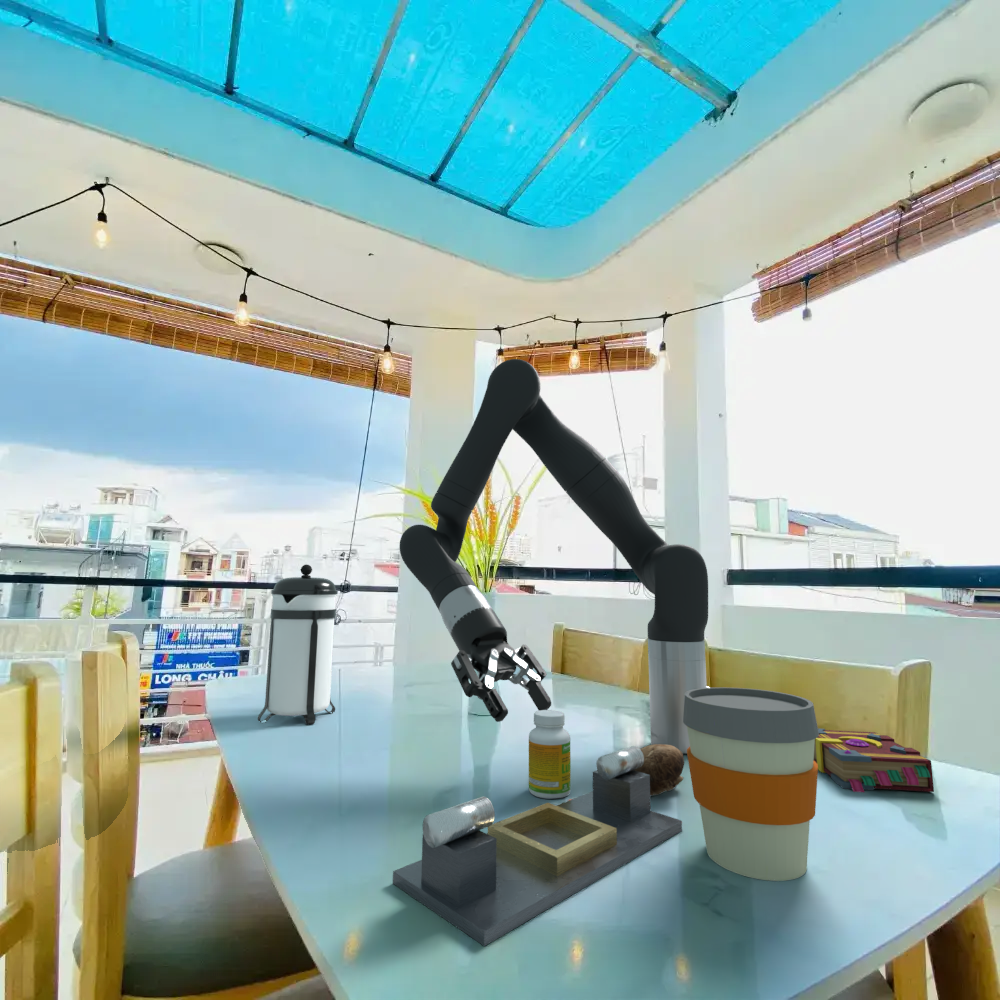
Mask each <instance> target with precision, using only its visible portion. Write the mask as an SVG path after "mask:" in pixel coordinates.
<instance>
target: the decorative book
mask: <svg viewBox="0 0 1000 1000" xmlns="http://www.w3.org/2000/svg"><path fill="white" fill-rule="evenodd" d="M818 732H819V736H818V737H817V738H816V739H815V744H814V761H815V762H816V763H817V764H818V772H820V773H823V774H824V773H825V774H827V775H828V776H830V780H832V781H833V782H835V783H836V784H837V785H839V787H841V788H842V789H848V790H850V789H851V790H852V792H854V793H865V790H867V791H874V790H875V789H879V790H892V791H893V790H895V791H896V790H897V791H909V792H910V791H911V792H912V791H913V792H914V791H915V792H927V793H930V792H931V793H935V789H934V787H935V786H934V780H933V779H934V778H933V768H932V767H933V766H932V760H930V759H929V758H927V757H924V756H922V755H921V751H919V750H917V749H915V748H913V747H905V746H903V745H901V744H899V743H897V742H895V739H894V738H893V737H891V736H889V735H887V734H886V735H881V734H879V733H877V732H875V731H872V732H871V731H853V730H851V731H850V730H830V729H829V730H828V729H825V728H818Z"/></svg>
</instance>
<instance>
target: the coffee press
mask: <svg viewBox="0 0 1000 1000" xmlns="http://www.w3.org/2000/svg"><path fill="white" fill-rule="evenodd" d="M299 571H300V572H301V574H302V575H300V576H301V577H298V576H297V577H296V576H295V577H285V578H282V579H280V580H279V581H277V582H276V583H275V585H274V587H273V589H271V591H270V594H271V596H272V606H271V609H270V627H269V641H268V655H267V657H268V658H267V671H266V686H265V698H264V699H265V701H264V707H263V709H262V710H261V711H260V713H259V714H258V716H257V721H258V722H259V721H260V722H259V723H261V721H262V720H261V718H262V717H263V716H264V713H266V710H267V711H268V712H269V713H270V714H268V715H267V716H266V717H265V718H264V719H263V720H266V721H267V722H268V721H269V719H271V718H272V717H273V716H286V717H287V716H289V717H290V716H291V717H293V716H295V717H296V716H301V717H303V719H304V722H305V725H306V724H307V725H308V724H309V725H313V724H315V722H316V717H315V714H317V713H320V712H322V711H325V712H326V713H328V714H330V712H332V714H334V713H335V711H336V707H335V705H334V703H333V702H332V700H331V697H332V696H331V695H332V694H331V690H332V689H331V688H332V672H333V671H332V669H333V652H334V634H335V618H336V617H337V615H336V614H337V609H336V599H337V596H338V594H339V590H336V589H337V588H336V584H335V583H334V582H333V581H332V580H331V579H328V578H325V577H324V578H323V577H311V574H312V573H313V568H312V566H311V565H309V564H304V565H302V566H301V567H300V570H299ZM329 705H330V706H331V710H330V711H329V710H328V709H327V708H329ZM333 712H334V713H333ZM307 725H306V726H307Z"/></svg>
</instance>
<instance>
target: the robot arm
mask: <svg viewBox="0 0 1000 1000" xmlns="http://www.w3.org/2000/svg"><path fill="white" fill-rule="evenodd" d="M486 385H487V387H486V389H485V393H484V395H483V399H482V401H481V405H480V408H479V410H478V412H477V415H476V416H475V419H474V420H473V421H474V422H473V424H472V426H471V428H470V430H469V432H468V434H467V436H466V438H465V440H464V442H463V443H462V445H461V447H460V449H459V451H458V452H457V454H456V455H455V457H454V459H453V461H452V463H451V464H450V466H449V468H448V469H447V471H446V474H445V476H444V477H443V479H442V481H441V482H440V484H439V487H438V488H437V491H436V492H435V493H434V496H433V498H432V500H431V503H430V508H431V509H432V511H433V513H434V514H436V515H437V516H436V517H437V518H438V519H437V520H438V521H437V524H436V529H434V528H432V527H430V526H428V525H425V524H414V525H411V526H409V527H408V528H406V529H405V530H404V532H403V533H402V534H401V537H400V540H399V552H400V557H401V559H402V561H403V563H404V564H405V566H406V567H407V568H408V570H409V571H410V572H411V573H412V574H413V576H414V578H416V579H417V580H418V582H419V583H420V584H421V585H422V586H423V587H424V588H425V589H426V591H428V593H429V595H430V597H431V599H432V600H433V603H434V605H435V606H436V608H437V610H438V611H439V613H440V617H441V619H442V621H443V624H444V626H445V628H446V629H447V631H448V633H449V635H450V636H451V638H452V640H453V642H454V644H455V645H456V648H457V649H458V652H457V654H456V655H455V657H454V658H452V659H453V660H452V661H451V662H450V666H451V667H452V670H453V672H454V673H455V675H456V676H455V677H456V678H457V681H458V682H459V684H460V686H461V688H462V691H463V693H464V695H465V696H466V697H468V698H472V697H473V696H476V697H477V699H479V700H482V702H483V704H484V706H485V707H486V709H487V711H488V713H489V715H490V716H491V717H492V718H493V719H494V720H495V722H497V723H500V722H502V721H504V719H505V718H506V717H507V716H508V714H509V710H508V707H507V706H506V703H505V702H504V701H503V699H502V698H501V696H500V694H499V692H498V690H497V689H496V688H494V683H496V682H498V681H508V682H510V683H512V684H513V685H520V686H521V687H522V688H524V689H525V690H527V694H528V695H529V697H530V699H531V700H532V702H533V703H534V705H535V708H537V711H539V710H549V709H550V707H552V700H551V697H550V696H549V695H548V693H547V691H546V689H545V688H544V686H543V685H542V683H541V682H543V680H544V678H546V676H547V672H546V671H545V668H543V666H542V665H541V663H540V662H539V660H538V659H537V658H536V656H535V655H534V654H533V652H532V650H531V649H530V648H529V646H528V645H526V644H522V645H521V646H520V647H519V648H515V649H514V648H513V647H512V646H511V645H510V644H509V643H508V632H507V629H506V628H505V626H504V625H503V623H502V622H501V619H500V618H499V616H498V615H497V613H496V612H495V611H494V609H493V607H492V606H491V604H490V602H489V601H488V600H487V598H486V597H485V595H484V594H483V593H482V592H481V591H480V589H479V588H478V587H477V585H476V584H475V583H476V582H474V581H473V579H472V577H471V576H470V574H469V573H468V571H467V570H466V569H465V568H464V567H463V566H462V565H460V563H457V562H456V561H457V560H458V558H459V556H460V553H461V551H462V546H463V542H464V538H465V534H466V532H467V528H468V527H467V525H468V523H469V522H468V521H469V518H470V516H471V514H472V512H473V510H474V508H475V507H476V506H477V503H478V501H479V499H480V497H481V495H482V494H483V492H484V489H485V487H486V485H487V484H488V483H487V482H488V481H489V478H490V476H491V474H492V472H493V469H494V467H495V464H496V462H497V460H498V457H499V455H500V453H501V451H502V449H503V446H504V444H505V443H506V441H507V439H508V438H509V436H510V434H511V432H512V431H513V432H515V433H516V435H518V436H519V437H520V438H521V439H522V440H523V441H524V442H525V443H526V444H527V445H528V446H529V447H530V448H531V449H532V450H533V451H534V453H535V454H536V456H537V457H538V459H539V460H540V462H541V463H542V464H543V465H544V467H545V468H546V469H547V471H549V473H550V474H551V476H552V477H553V479H555V481H556V482H557V483H558V484H559V485H560V488H562V489H563V491H564V492H565V493H566V494H567V495H568V496H569V498H571V500H572V501H573V503H575V505H576V506H577V507H578V508H579V509H580V510H581V511H582V512H583V513H584V514H585V515H586V516H587V518H588V519H590V521H591V522H592V523H593V524H594V525H595V526H596V527H597V528H598V529H599V530H600V532H601V533H602V534H603V535H604V536H605V537H606V538H607V539H609V541H610V542H612V544H613V545H614V546H615V548H616V549H617V550H618V551H619V553H620V554H621V555H622V557H623V558H624V559H625V561H626V563H628V565H629V566H630V569H632V571H633V573H634V574H635V575H636V576H637V578H638V579H639V581H640V582H641V583H642V584H641V585H643V586H644V587H645V588H646V590H647V591H649V592H650V593H651V594H653V595H654V610H653V615H652V617H651V619H650V620H649V621H648V623H647V650H648V651H647V654H648V655H647V656H648V658H647V659H648V660H647V661H648V683H649V684H648V685H649V687H648V689H649V691H648V692H649V694H648V695H649V720H650V721H649V722H650V723H649V724H650V725H649V727H650V745H654V744H666V745H672V746H674V747H676V748H677V749H679V750H680V751H681V752H682V753H683V754H687V749H688V748H689V747H690V743H689V736H688V730H687V726H686V725H685V724H684V723H683V715H684V700H685V693H686V692H687V691H690V690H693V689H700V688H711V687H710V686H708V685H707V667H706V666H707V665H706V663H707V662H706V645H705V630H706V627H707V624H708V619H709V576H708V575H709V574H708V569H707V565H706V562H705V559H704V558H703V556H702V555H701V553H700V552H699V551H698V550H697V549H695V548H694V547H692V546H690V545H687V544H681V543H680V544H679V543H678V544H669V543H668V542H667V541H665V540H664V539H663V538H662V537H661V536H660V535H659V533H657V532H656V531H655V530H654V529H653V528H652V527H651V526H650V524H649V523H648V522H647V521H646V520H645V518H644V517H643V515H642V514H641V511H640V509H639V507H638V505H637V503H636V500H635V497H634V496H633V494H632V492H631V490H630V487H629V486H628V484H627V482H626V480H625V478H624V477H623V476H622V475H621V474H620V473H619V471H618V470H617V469H616V468H615V466H614V465H613V464H612V463H611V462H610V460H609V459H608V458H606V456H605V455H604V454H603V453H602V452H601V451H600V450H598V448H597V447H595V446H594V445H593V444H592V443H590V442H589V441H588V440H587V439H585V438H584V437H582V436H581V435H579V434H578V433H576V432H575V431H574V430H572V429H571V428H569V427H568V426H567V425H566V424H565V423H563V421H562V420H560V418H558V416H557V415H556V414H555V413H554V411H553V410H552V409H551V408H550V406H549V405H548V404H547V402H546V401H545V400H544V398H543V396H542V394H540V393H541V380H540V376H539V374H538V371H537V370H536V368H535V367H534V366H533V365H532V364H531V363H529V362H528V361H526V360H524V359H518V358H511V359H507V360H505V361H502V362H501V363H499V364H498V365H497V366H496V367H494V369H493V370H492V371H491V373H490V375H489V377H488V380H487V384H486ZM517 667H518V668H519V670H518V672H517V673H515V672H516V671H517ZM533 670H535V671H533ZM524 676H526V677H527V679H528V680H527V679H526V678H524Z"/></svg>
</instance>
